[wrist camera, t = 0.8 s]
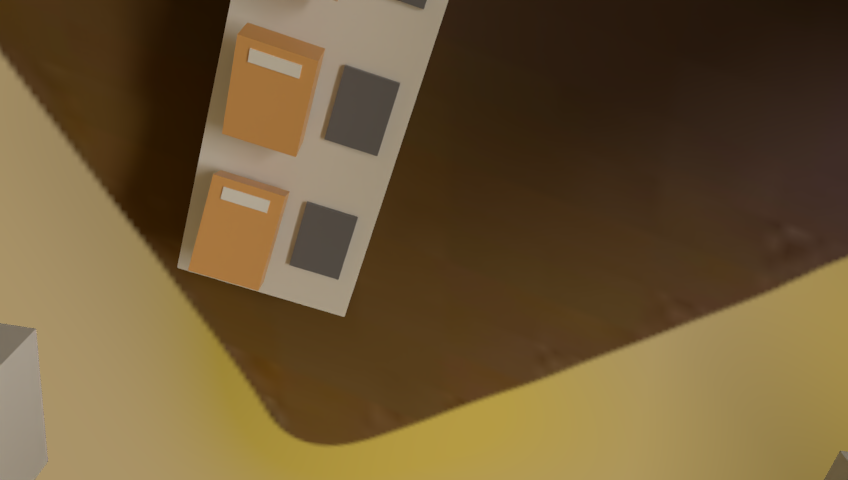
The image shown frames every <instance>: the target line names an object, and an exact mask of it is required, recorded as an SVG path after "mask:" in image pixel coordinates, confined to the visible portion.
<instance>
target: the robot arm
mask: <svg viewBox="0 0 848 480" xmlns="http://www.w3.org/2000/svg"><path fill="white" fill-rule="evenodd" d="M47 462H48V456H47V445H46V435H45V423H44V412H43V401H42V390H41V379H40V368H39V358H38V346H37V335H36V329H34V328H27V327H21V326H14V325H7V324H1V323H0V480H35V479H36V477H37V476H38V474H39V473H40V472H41V470H42V469H43V468H44V466H45V465H46V463H47ZM824 480H848V452H845V451H840V452H839V454H838V456H837V457H836V459H835V461H834V463H833V465H832V466H831V468H830V470H829V472H828V474H827V475H826V477H825V479H824Z"/></svg>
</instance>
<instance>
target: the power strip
mask: <svg viewBox="0 0 848 480" xmlns="http://www.w3.org/2000/svg"><path fill="white" fill-rule="evenodd" d="M447 3H448V0H338V2H337V1H334V0H231V1H230V6H229V11H228V16H227V21H226V26H225V31H224V36H223V41H222V46H221V51H220V56H219V61H218V66H217V71H216V76H215V81H214V86H213V91H212V96H211V101H210V106H209V111H208V116H207V121H206V126H205V131H204V136H203V141H202V146H201V151H200V156H199V161H198V166H197V171H196V176H195V181H194V186H193V191H192V196H191V201H190V206H189V211H188V216H187V221H186V226H185V231H184V236H183V241H182V246H181V251H180V256H179V261H178V266H177V268H180V269H183V270H186V271H189V270H188V268H189V265H190V261H191V257H192V253H193V249H194V246H195V242H196V238H197V234H198V230H199V226H200V223H201V219H202V215H203V211H204V207H205V204H206V200H207V196H208V192H209V188H210V185H211V181H212V177H213V174H214V173H216V172H218V171H220V170H222V171H226V172H229V173H232V174H235V175H238V176H242V177H245V178H248V179H251V180H255V181H258V182H261V183H264V184H267V185H271V186H274V187H277V188H280V189H283V190H287V191H290V193H289V196H288V200H287V203H286V207H285V210H284V213H283V217H282V220H281V224H280V227H279V231H278V234H277V238H276V241H275V245H274V248H273V252H272V255H271V259H270V262H269V265H268V269H267V272H266V276H265V279H264V283H263V284H262V286H261V287H260V289H259V291H258V292H261V293H265V294H268V295H271V296H275V297H278V298H282V299H285V300H288V301H292V302H295V303H299V304H302V305H305V306H309V307H312V308H316V309H319V310H322V311H326V312H329V313H333V314H336V315H339V316H343V317H345V314H346V311H347V307H348V304H349V301H350V298H351V295H352V292H353V289H354V286H355V283H356V280H357V277H358V274H359V271H360V268H361V265H362V262H363V259H364V256H365V253H366V250H367V247H368V244H369V241H370V238H371V234H372V231H373V228H374V225H375V222H376V219H377V216H378V213H379V210H380V207H381V204H382V201H383V198H384V195H385V192H386V189H387V186H388V183H389V180H390V177H391V174H392V171H393V168H394V165H395V161H396V158H397V155H398V152H399V149H400V146H401V143H402V140H403V137H404V134H405V131H406V128H407V125H408V122H409V119H410V116H411V113H412V110H413V107H414V104H415V101H416V98H417V95H418V92H419V88H420V85H421V82H422V79H423V76H424V73H425V70H426V67H427V64H428V61H429V58H430V55H431V52H432V49H433V46H434V43H435V40H436V37H437V34H438V31H439V28H440V25H441V22H442V19H443V15H444V12H445V9H446V6H447ZM247 22H248V23H251V24H254V25H257V26H260V27H263V28H266V29H269V30H272V31H275V32H278V33H281V34H283V35H286V36H289V37H292V38H295V39H298V40H301V41H304V42H307V43H310V44H313V45H316V46H319V47H322V48H325V52H324V56H323V60H322V65H321V69H320V73H319V77H318V81H317V86H316V90H315V94H314V98H313V102H312V107H311V111H310V115H309V119H308V123H307V127H306V132H305V136H304V140H303V143H302V145H301V147H300V150H299V152H298V154H297V156H296V157H294V156H291V155H287V154H284V153H281V152H278V151H275V150H272V149H269V148H265V147H262V146H259V145H256V144H253V143H250V142H246V141H243V140H240V139H237V138H234V137H231V136H228V135H224V134H222V130H223V123H224V117H225V110H226V104H227V97H228V91H229V85H230V78H231V72H232V65H233V59H234V52H235V46H236V39H237V34H238V33H239V32H240V30H241V29H242V28H243V27H244V26H245V25H246V23H247ZM190 272H192V271H190ZM193 273H195V272H193ZM197 274H199V273H197ZM200 275H202V274H200ZM203 276H206V275H203ZM207 277H209V276H207ZM210 278H212V277H210ZM214 279H216V278H214ZM217 280H219V279H217ZM220 281H223V280H220ZM224 282H226V281H224ZM227 283H229V282H227ZM231 284H233V283H231ZM234 285H236V284H234ZM237 286H240V285H237ZM241 287H243V286H241ZM244 288H246V287H244ZM248 289H250V288H248ZM251 290H253V289H251ZM254 291H257V290H254Z"/></svg>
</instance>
